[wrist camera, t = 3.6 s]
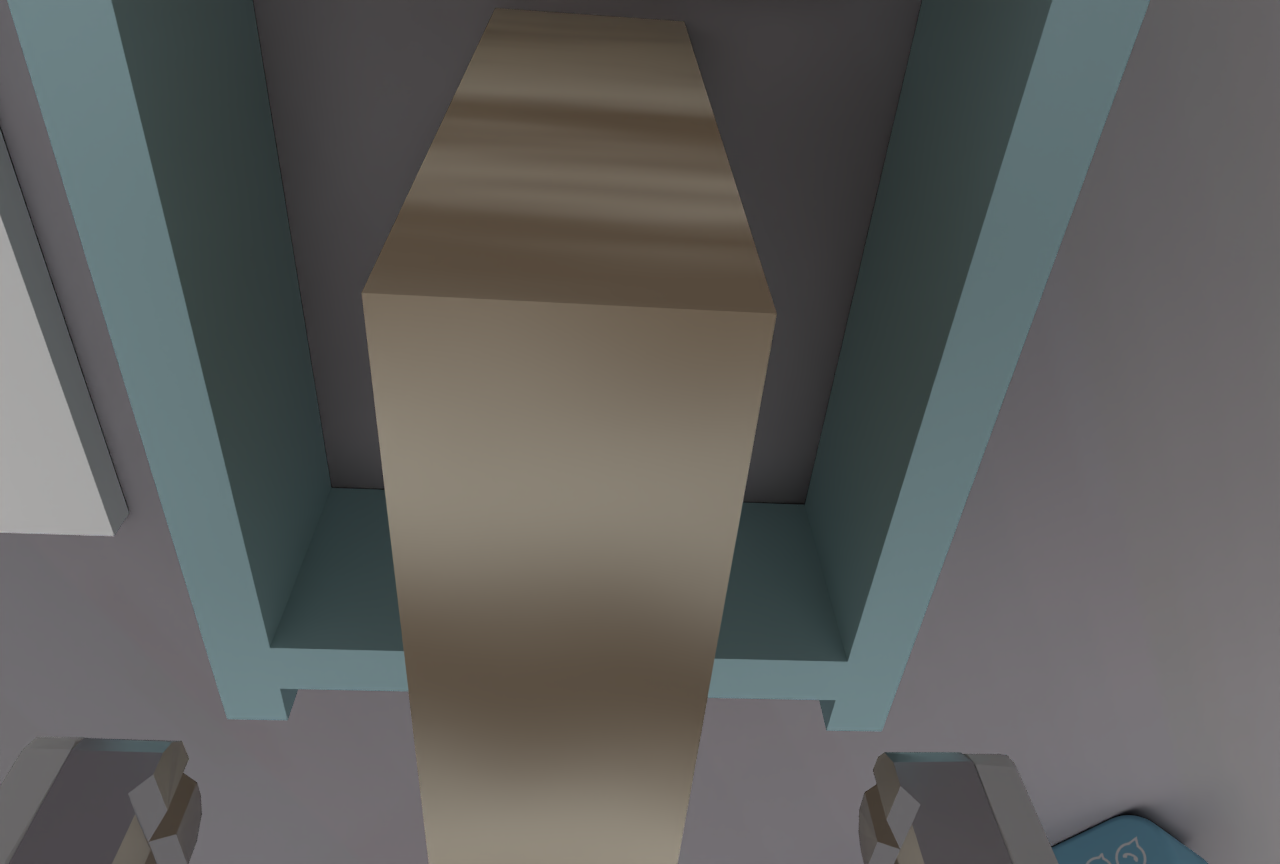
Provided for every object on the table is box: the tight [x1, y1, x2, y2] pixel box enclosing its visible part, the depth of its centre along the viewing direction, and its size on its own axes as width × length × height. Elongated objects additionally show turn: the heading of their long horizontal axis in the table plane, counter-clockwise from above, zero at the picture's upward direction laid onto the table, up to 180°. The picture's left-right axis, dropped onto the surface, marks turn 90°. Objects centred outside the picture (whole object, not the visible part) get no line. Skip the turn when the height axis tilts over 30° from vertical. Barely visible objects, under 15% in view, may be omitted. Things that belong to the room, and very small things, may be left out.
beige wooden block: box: [362, 8, 777, 864], centre depth 17 cm, size 11×4×13 cm, turn 176°
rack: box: [7, 0, 1150, 731], centre depth 19 cm, size 24×17×6 cm
